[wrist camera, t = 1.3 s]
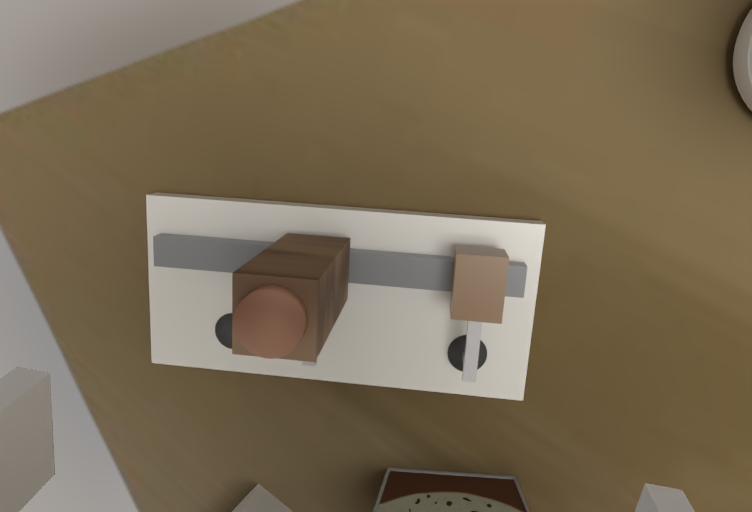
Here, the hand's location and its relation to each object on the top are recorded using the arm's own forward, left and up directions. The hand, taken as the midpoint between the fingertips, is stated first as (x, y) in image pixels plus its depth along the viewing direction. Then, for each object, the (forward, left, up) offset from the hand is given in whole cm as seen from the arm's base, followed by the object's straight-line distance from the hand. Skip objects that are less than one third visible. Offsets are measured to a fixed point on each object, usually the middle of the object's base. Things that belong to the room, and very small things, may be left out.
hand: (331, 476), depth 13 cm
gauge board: (-4, +4, -27) cm, 27 cm away
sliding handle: (-3, +5, -25) cm, 26 cm away
